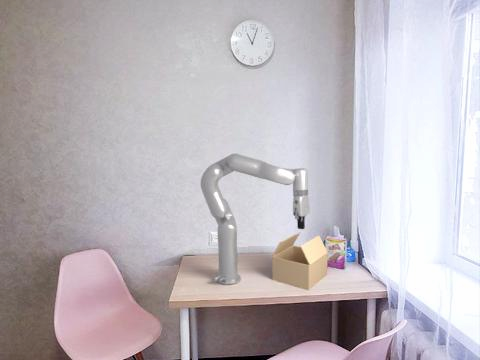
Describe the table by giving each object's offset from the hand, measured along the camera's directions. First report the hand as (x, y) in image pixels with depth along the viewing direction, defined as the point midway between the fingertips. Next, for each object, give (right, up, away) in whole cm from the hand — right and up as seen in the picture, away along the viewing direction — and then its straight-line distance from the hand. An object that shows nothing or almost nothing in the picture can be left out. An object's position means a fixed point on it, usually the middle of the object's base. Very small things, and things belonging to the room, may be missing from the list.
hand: (301, 228), depth 158 cm
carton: (0, -26, +3) cm, 26 cm away
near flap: (+6, -10, -4) cm, 12 cm away
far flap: (-6, -9, +6) cm, 12 cm away
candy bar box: (+22, -24, +16) cm, 36 cm away
